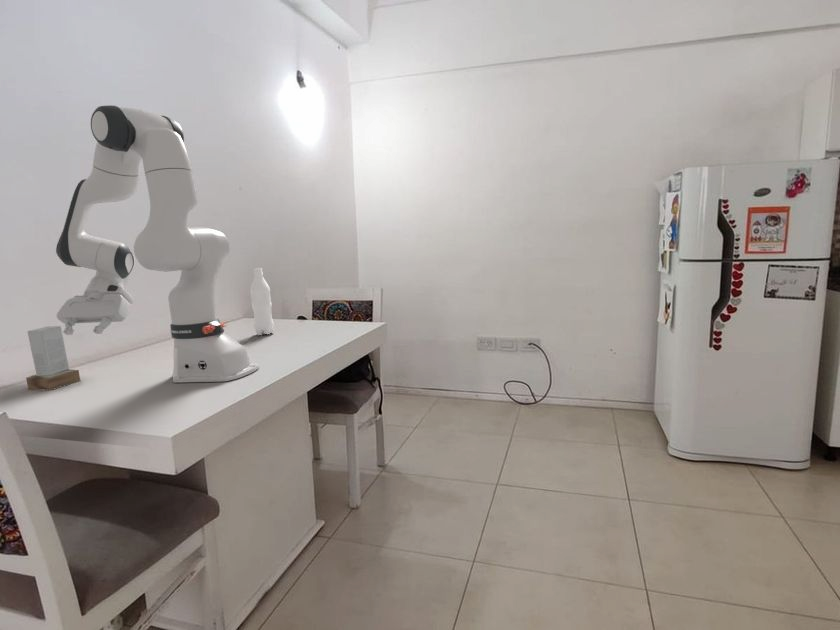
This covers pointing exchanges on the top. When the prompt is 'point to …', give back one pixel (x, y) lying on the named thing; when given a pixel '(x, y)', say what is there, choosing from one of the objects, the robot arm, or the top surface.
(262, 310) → the water bottle
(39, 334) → the skincare box
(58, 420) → the top surface
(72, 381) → the walnut block
